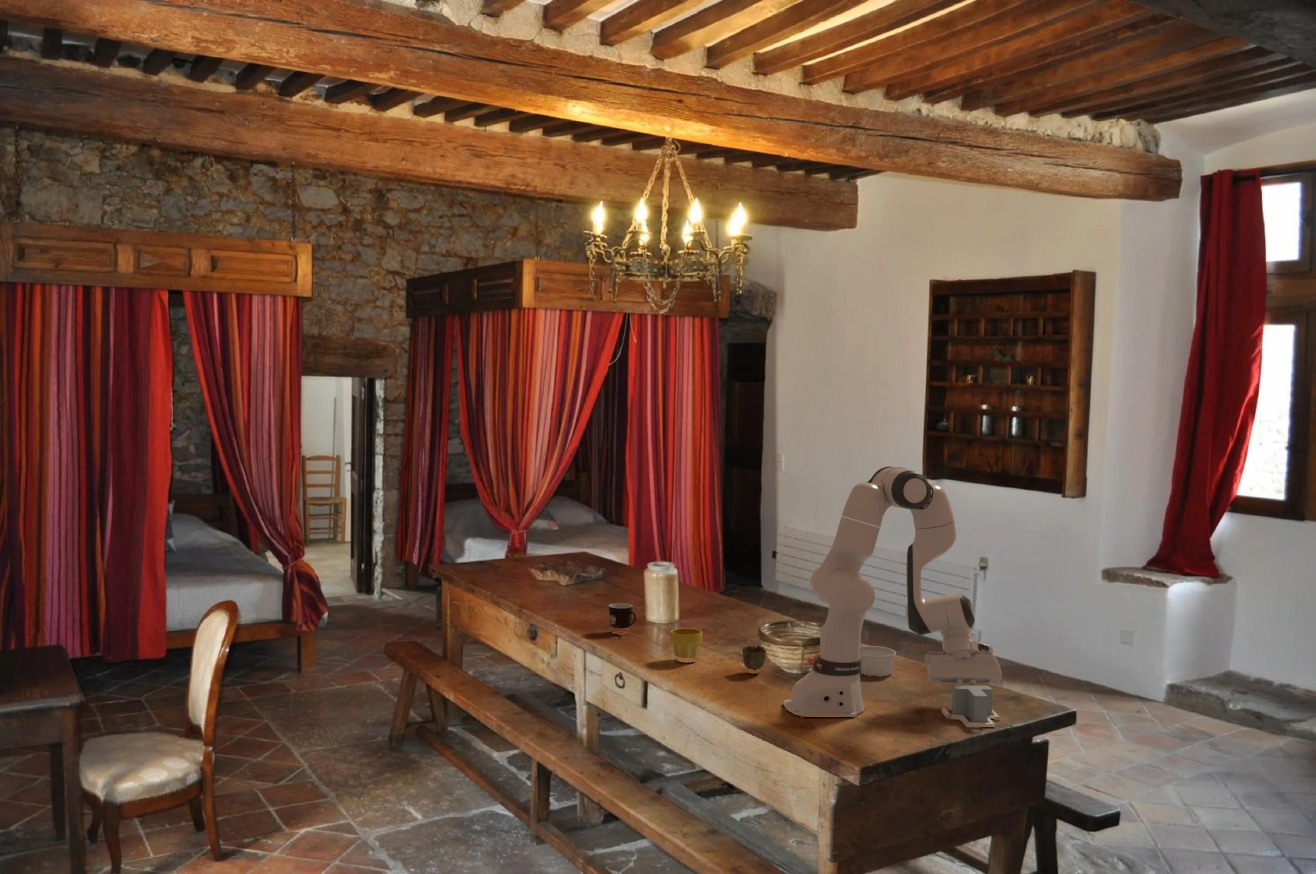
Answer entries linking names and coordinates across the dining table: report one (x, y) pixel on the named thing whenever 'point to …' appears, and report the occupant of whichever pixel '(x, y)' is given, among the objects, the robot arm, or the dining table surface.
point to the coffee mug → (621, 615)
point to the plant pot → (686, 642)
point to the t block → (972, 702)
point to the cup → (754, 657)
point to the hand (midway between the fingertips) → (968, 695)
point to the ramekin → (877, 660)
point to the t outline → (972, 724)
